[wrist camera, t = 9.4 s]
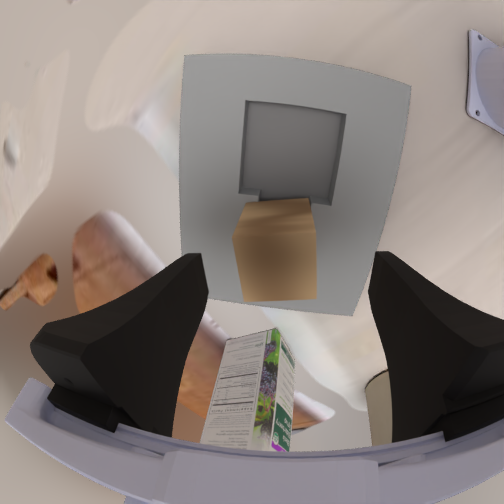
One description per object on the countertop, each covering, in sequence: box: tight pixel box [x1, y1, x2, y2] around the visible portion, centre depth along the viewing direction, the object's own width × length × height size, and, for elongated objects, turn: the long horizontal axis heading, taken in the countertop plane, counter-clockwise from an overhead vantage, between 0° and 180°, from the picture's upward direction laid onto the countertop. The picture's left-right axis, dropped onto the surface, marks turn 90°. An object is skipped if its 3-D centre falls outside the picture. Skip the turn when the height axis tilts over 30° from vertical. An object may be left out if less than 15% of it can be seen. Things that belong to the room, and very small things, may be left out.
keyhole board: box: [179, 54, 411, 316], centre depth 18 cm, size 14×18×2 cm
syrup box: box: [200, 328, 295, 452], centre depth 21 cm, size 6×6×14 cm
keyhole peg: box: [232, 198, 317, 302], centre depth 17 cm, size 4×4×6 cm
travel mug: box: [365, 371, 392, 446], centre depth 21 cm, size 8×8×18 cm
